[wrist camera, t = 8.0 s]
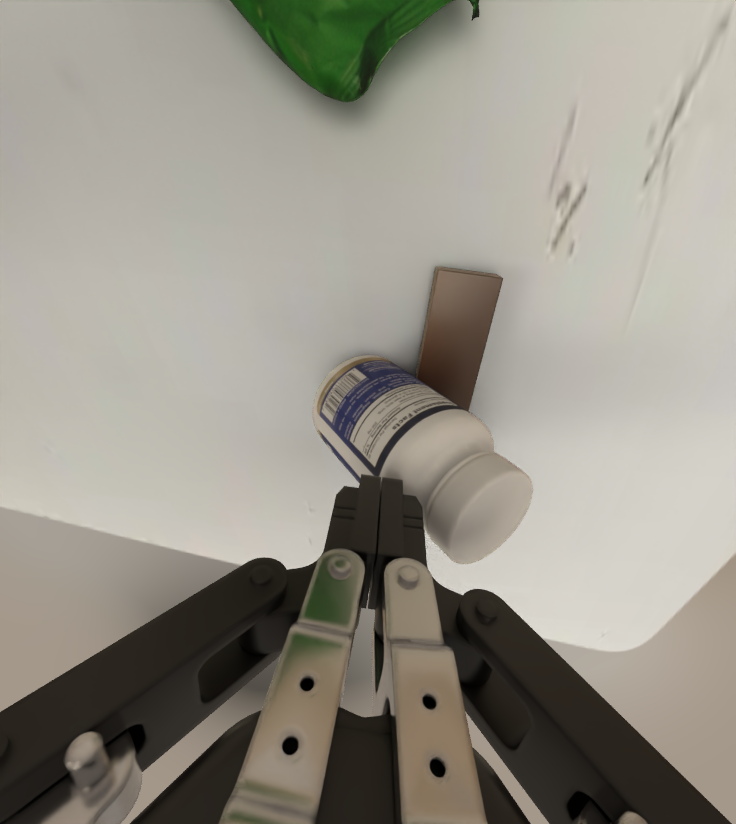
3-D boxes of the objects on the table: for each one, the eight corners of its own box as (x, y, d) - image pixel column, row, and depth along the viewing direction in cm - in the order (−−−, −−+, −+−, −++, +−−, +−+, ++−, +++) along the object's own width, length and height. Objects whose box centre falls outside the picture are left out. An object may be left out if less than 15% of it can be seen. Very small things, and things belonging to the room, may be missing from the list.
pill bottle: (398, 427, 24) (531, 541, 16) (314, 457, 21) (426, 605, 14) (400, 341, 21) (563, 434, 13) (304, 365, 18) (437, 492, 11)
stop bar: (398, 469, 25) (398, 481, 24) (435, 265, 19) (437, 269, 18) (446, 475, 25) (448, 487, 24) (497, 274, 19) (503, 278, 18)
